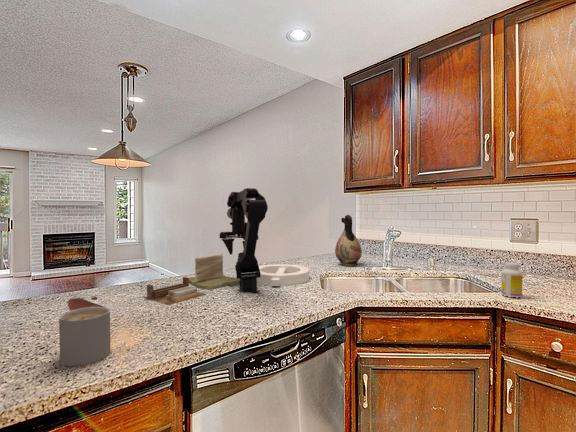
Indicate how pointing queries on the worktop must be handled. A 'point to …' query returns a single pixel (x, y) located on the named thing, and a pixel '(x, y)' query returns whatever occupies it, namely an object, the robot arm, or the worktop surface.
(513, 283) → the supplement bottle
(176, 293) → the grey offcut
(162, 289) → the walnut rack
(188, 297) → the oak offcut
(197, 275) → the birch sheet
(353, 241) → the ceramic jug
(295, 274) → the ring with crossbar
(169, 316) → the worktop surface
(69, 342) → the coffee mug
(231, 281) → the decorative tile
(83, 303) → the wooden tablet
